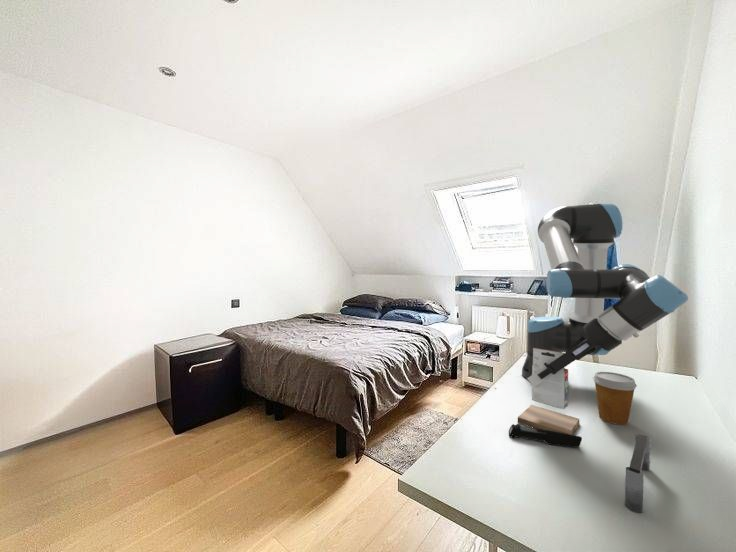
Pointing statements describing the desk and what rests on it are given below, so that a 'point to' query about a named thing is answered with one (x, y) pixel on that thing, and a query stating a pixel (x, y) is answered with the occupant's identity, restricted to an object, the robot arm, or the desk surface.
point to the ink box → (550, 381)
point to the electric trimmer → (544, 436)
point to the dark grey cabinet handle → (637, 473)
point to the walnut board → (548, 420)
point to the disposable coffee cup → (614, 396)
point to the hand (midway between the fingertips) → (533, 380)
